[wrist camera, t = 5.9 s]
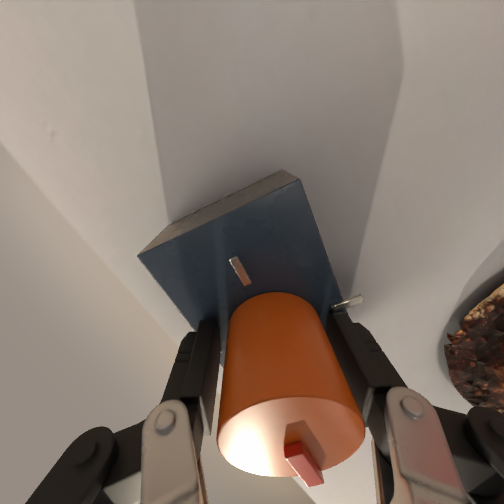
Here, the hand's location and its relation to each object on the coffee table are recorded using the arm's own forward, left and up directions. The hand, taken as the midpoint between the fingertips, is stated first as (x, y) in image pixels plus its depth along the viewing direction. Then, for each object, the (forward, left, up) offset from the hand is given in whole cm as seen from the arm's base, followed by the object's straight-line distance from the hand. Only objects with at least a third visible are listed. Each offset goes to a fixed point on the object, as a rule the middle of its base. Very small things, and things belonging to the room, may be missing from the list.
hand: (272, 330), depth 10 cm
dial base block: (0, 0, -4) cm, 4 cm away
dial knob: (0, 0, 0) cm, 0 cm away
